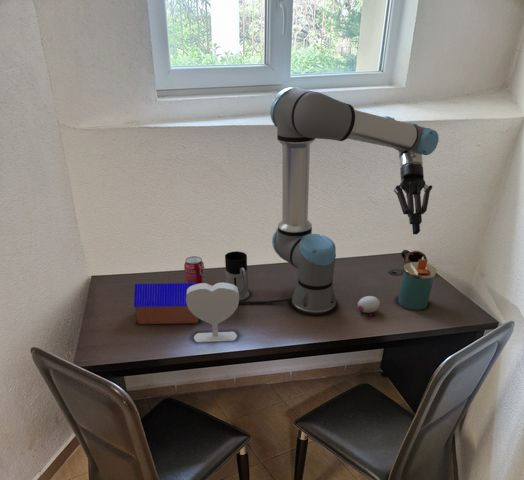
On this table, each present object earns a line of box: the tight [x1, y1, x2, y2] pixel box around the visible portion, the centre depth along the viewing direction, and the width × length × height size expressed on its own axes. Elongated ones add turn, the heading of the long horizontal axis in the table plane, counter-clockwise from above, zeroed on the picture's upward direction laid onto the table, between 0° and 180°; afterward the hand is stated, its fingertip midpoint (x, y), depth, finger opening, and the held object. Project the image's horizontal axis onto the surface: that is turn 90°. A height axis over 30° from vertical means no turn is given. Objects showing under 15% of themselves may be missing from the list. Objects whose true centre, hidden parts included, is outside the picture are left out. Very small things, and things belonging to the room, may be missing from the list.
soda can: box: [183, 255, 206, 284], centre depth 166 cm, size 7×7×12 cm
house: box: [133, 282, 200, 325], centre depth 152 cm, size 12×20×12 cm, turn 92°
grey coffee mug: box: [224, 250, 250, 301], centre depth 160 cm, size 9×14×15 cm, turn 20°
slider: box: [417, 259, 429, 274], centre depth 151 cm, size 4×3×3 cm
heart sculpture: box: [186, 282, 240, 343], centre depth 139 cm, size 16×5×18 cm, turn 94°
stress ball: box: [357, 295, 381, 317], centre depth 156 cm, size 8×8×7 cm
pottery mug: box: [401, 249, 428, 264], centre depth 183 cm, size 12×10×8 cm
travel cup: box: [397, 261, 437, 311], centre depth 158 cm, size 11×11×14 cm
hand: (416, 232), depth 156 cm, fingers closed
